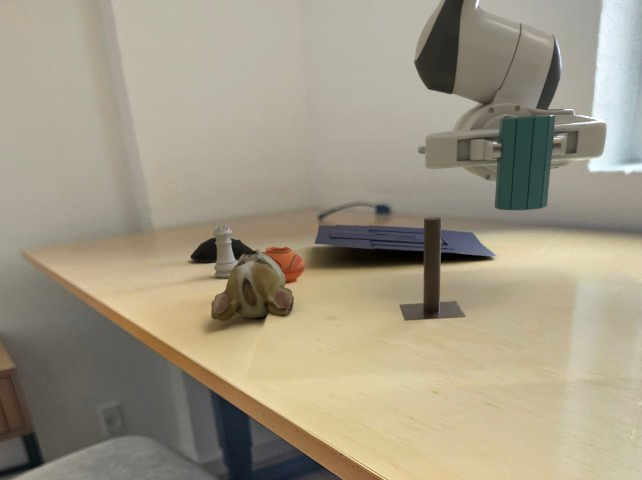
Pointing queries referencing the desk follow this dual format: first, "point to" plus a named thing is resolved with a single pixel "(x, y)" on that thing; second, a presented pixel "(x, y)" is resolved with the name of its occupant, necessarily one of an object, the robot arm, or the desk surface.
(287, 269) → the pot
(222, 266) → the rook chess piece
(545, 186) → the teal grooved cylinder
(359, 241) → the papers
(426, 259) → the stand
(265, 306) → the ceramic sculpture
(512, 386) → the desk surface
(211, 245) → the gaming mouse
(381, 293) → the desk surface
